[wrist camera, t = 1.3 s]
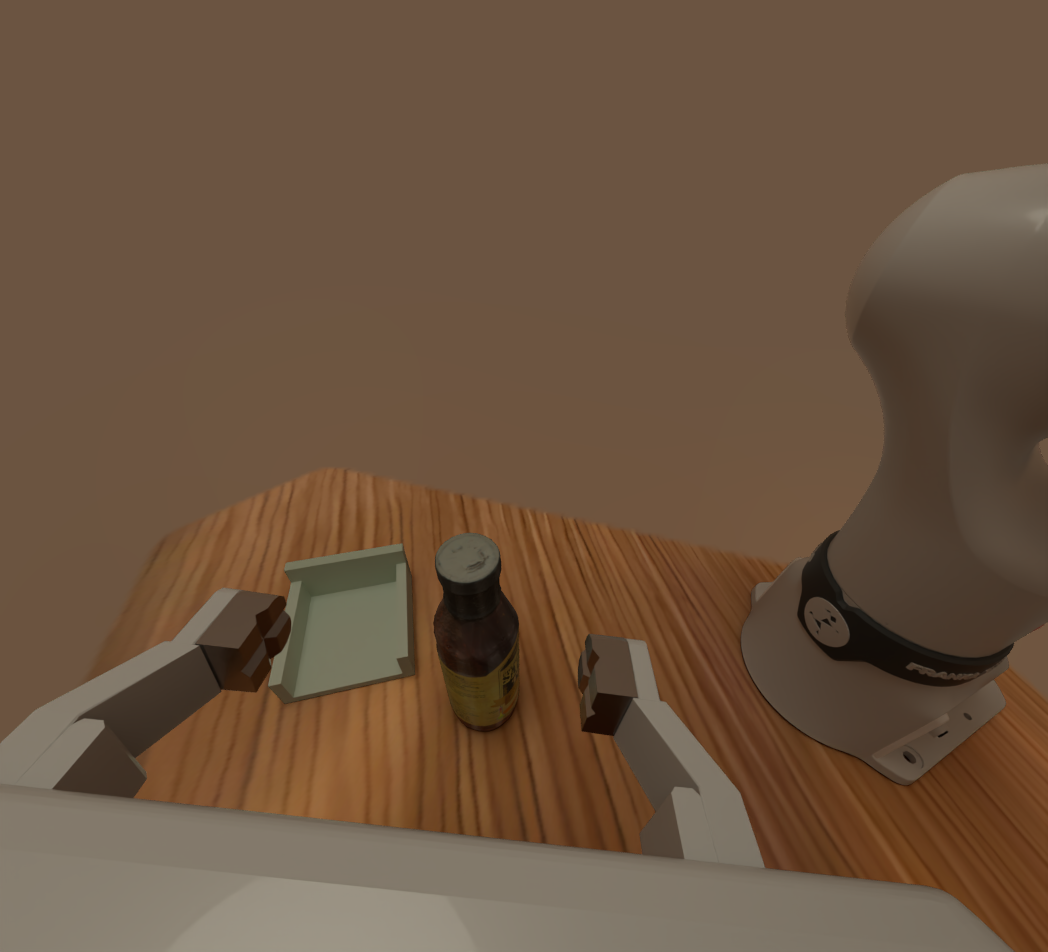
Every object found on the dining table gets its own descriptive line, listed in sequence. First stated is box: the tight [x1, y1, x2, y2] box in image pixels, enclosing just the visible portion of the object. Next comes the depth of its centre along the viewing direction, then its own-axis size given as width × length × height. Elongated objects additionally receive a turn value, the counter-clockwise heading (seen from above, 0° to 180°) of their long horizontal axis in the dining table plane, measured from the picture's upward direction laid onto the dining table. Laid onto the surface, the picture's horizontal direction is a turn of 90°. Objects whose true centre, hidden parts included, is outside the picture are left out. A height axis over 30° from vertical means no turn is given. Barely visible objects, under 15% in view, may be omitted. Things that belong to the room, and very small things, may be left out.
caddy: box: [268, 544, 415, 704], centre depth 40 cm, size 12×12×6 cm
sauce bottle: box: [433, 533, 519, 731], centre depth 31 cm, size 6×6×20 cm
